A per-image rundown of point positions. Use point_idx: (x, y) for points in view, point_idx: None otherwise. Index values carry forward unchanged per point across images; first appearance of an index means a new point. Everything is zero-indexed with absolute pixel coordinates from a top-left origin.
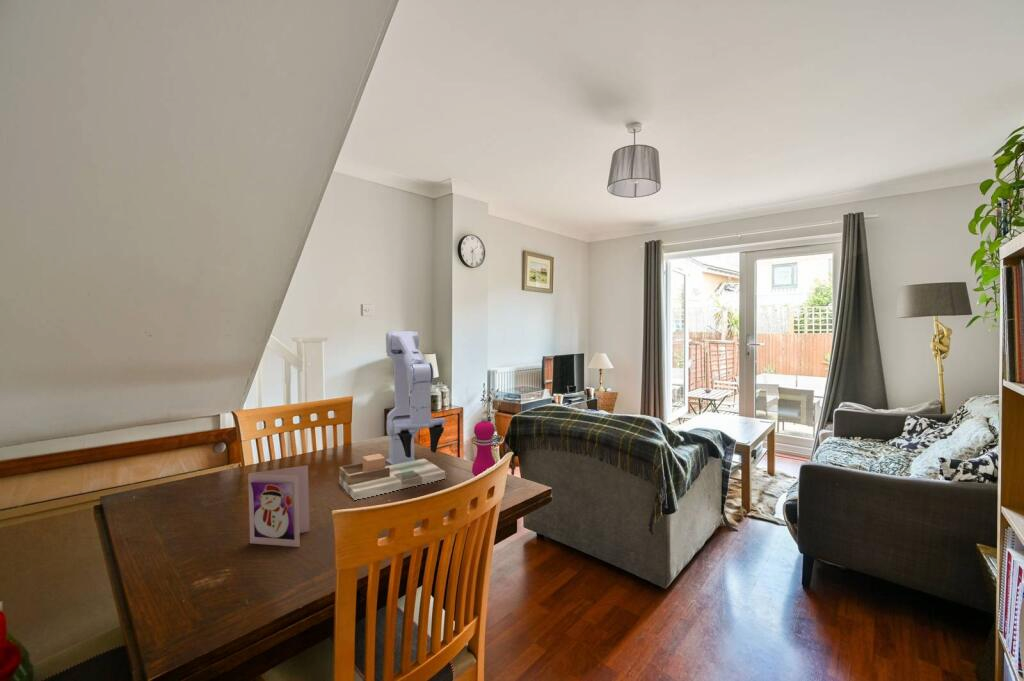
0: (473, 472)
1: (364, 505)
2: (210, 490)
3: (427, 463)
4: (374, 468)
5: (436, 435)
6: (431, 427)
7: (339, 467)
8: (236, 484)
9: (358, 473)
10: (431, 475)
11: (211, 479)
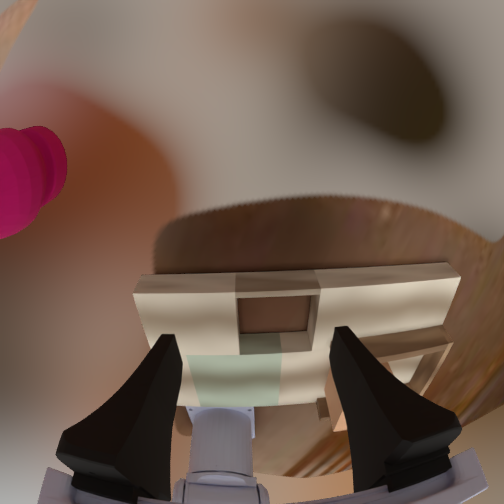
0: (40, 173)
1: (446, 219)
2: (497, 387)
3: None
4: None
5: (132, 420)
6: (156, 494)
7: None
8: (476, 399)
9: (426, 353)
10: (192, 290)
11: (474, 415)
